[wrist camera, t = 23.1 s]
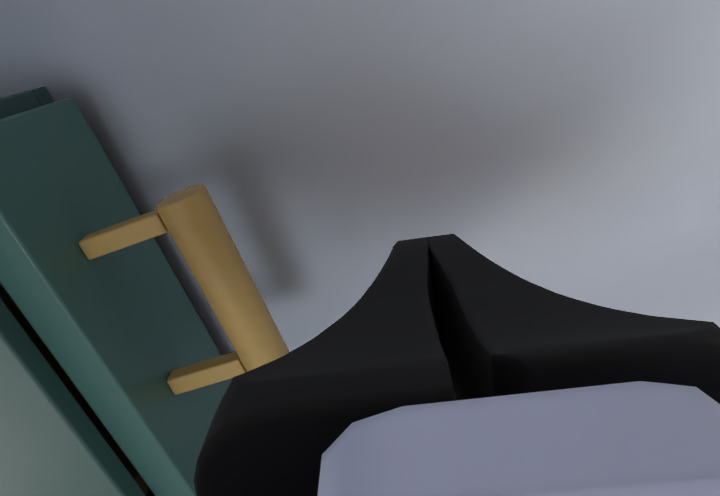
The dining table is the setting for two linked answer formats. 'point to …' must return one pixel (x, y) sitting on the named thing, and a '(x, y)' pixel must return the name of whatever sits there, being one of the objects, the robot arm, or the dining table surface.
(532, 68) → the dining table surface
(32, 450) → the cabinet
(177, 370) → the drawer
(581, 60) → the dining table surface
